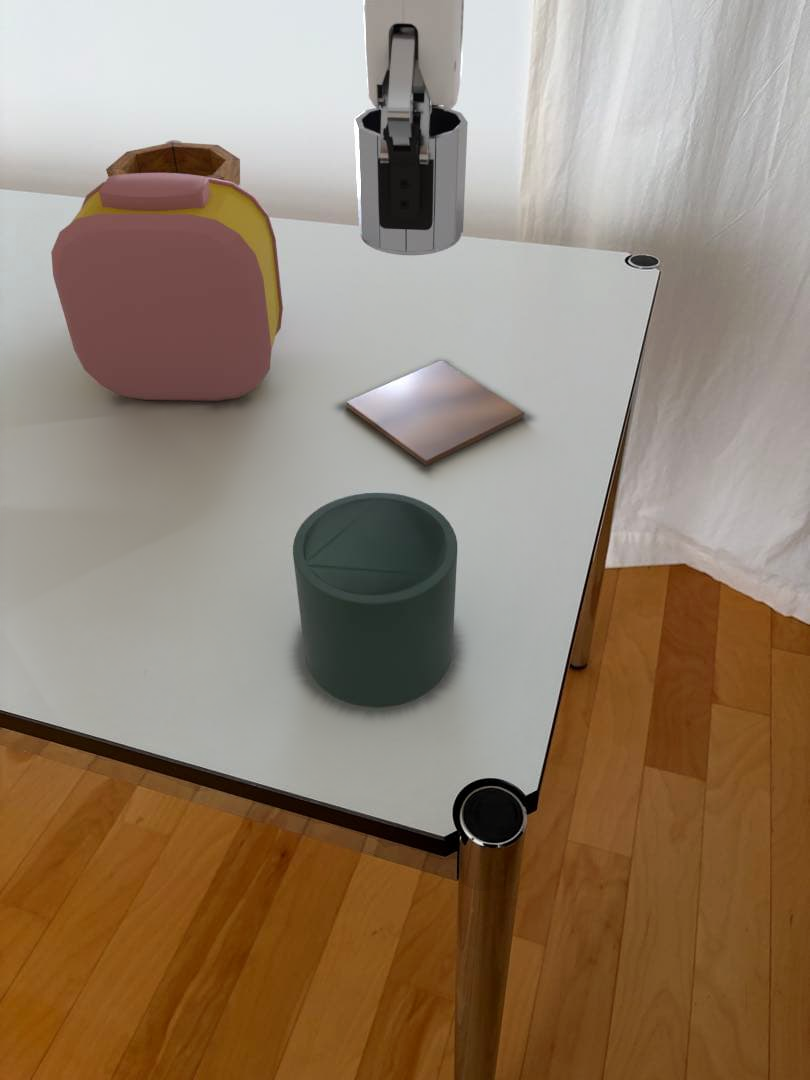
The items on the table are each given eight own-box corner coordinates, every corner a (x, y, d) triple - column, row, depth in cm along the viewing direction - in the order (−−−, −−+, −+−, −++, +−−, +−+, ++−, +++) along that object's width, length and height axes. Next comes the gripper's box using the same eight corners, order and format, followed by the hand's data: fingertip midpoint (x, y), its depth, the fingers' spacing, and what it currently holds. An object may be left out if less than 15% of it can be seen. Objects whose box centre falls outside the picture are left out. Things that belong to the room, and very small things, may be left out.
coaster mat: (524, 417, 84) (524, 412, 84) (426, 466, 79) (426, 461, 79) (441, 365, 91) (441, 359, 91) (345, 406, 86) (345, 401, 85)
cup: (482, 236, 58) (488, 122, 54) (404, 265, 55) (403, 147, 50) (416, 205, 62) (417, 96, 57) (339, 230, 59) (333, 118, 54)
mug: (261, 321, 98) (244, 183, 88) (135, 334, 96) (103, 194, 86) (247, 246, 112) (231, 119, 102) (137, 256, 110) (109, 128, 100)
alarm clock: (289, 350, 94) (270, 159, 81) (275, 409, 86) (251, 209, 72) (113, 348, 94) (66, 158, 81) (82, 407, 86) (24, 207, 73)
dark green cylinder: (483, 656, 63) (491, 552, 56) (364, 734, 58) (358, 630, 51) (391, 575, 69) (389, 472, 62) (276, 639, 64) (261, 535, 57)
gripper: (482, -126, 39) (464, 265, 51) (490, -164, 51) (474, 156, 63) (309, -128, 39) (332, 260, 51) (360, -165, 52) (369, 152, 64)
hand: (411, 200), depth 57 cm, fingers closed on cup, 6 cm apart
